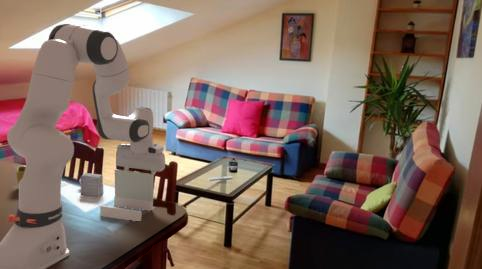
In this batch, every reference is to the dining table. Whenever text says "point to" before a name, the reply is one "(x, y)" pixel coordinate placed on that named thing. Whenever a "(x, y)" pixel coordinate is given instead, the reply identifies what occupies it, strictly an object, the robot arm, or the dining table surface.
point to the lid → (134, 185)
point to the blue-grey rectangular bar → (129, 208)
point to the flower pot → (20, 173)
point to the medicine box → (91, 184)
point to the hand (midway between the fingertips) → (139, 178)
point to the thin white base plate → (126, 213)
